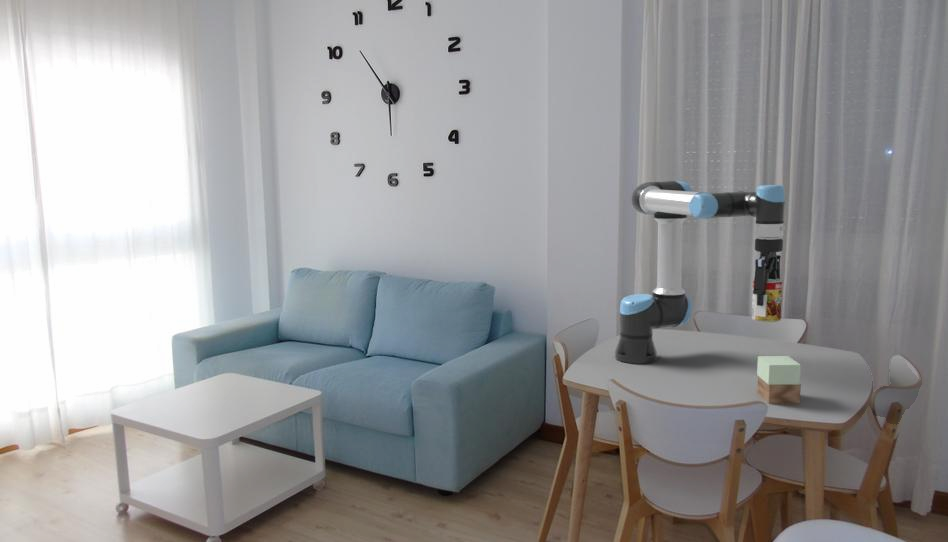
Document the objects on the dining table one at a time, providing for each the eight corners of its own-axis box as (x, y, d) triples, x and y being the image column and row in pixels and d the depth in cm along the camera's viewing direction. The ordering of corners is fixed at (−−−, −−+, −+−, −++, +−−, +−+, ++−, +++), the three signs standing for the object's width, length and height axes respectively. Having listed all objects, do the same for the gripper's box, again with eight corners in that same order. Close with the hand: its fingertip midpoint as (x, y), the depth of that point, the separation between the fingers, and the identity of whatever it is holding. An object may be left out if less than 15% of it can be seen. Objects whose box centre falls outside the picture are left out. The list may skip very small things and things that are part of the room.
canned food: (783, 322, 188) (785, 281, 186) (755, 322, 189) (756, 281, 188) (776, 316, 196) (777, 277, 194) (748, 316, 197) (750, 277, 195)
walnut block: (768, 404, 191) (769, 384, 190) (757, 393, 199) (758, 375, 199) (799, 404, 190) (800, 384, 189) (786, 393, 199) (787, 374, 198)
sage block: (768, 384, 190) (769, 365, 189) (757, 374, 199) (757, 356, 198) (799, 384, 189) (800, 364, 188) (786, 374, 198) (787, 356, 197)
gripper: (769, 241, 179) (766, 321, 182) (794, 235, 194) (791, 309, 197) (742, 240, 184) (739, 318, 188) (768, 234, 199) (766, 306, 202)
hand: (766, 313), depth 192 cm, fingers closed on canned food, 8 cm apart
